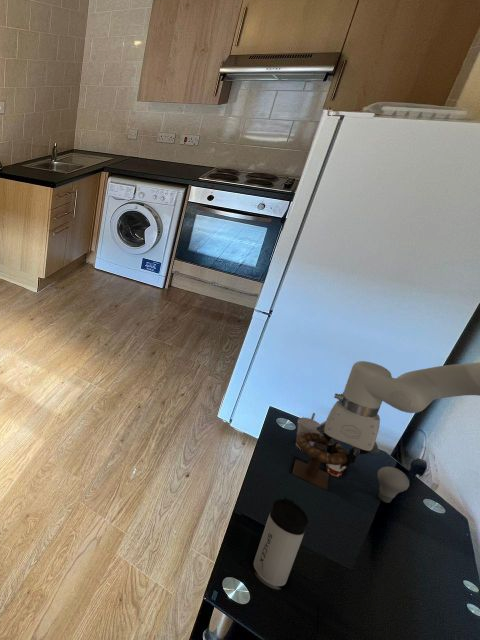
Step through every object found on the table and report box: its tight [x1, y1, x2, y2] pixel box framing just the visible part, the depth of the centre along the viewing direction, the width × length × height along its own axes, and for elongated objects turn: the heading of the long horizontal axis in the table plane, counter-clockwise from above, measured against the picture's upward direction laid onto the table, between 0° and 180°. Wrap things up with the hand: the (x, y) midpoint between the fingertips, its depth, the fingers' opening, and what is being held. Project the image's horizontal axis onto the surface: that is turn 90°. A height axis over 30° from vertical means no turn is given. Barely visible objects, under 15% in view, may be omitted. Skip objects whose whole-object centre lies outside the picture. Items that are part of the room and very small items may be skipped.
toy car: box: [324, 463, 348, 478], centre depth 124 cm, size 5×8×3 cm, turn 134°
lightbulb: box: [377, 466, 410, 504], centre depth 112 cm, size 6×6×11 cm
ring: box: [295, 431, 349, 465], centre depth 118 cm, size 12×12×3 cm
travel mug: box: [253, 497, 309, 591], centre depth 91 cm, size 6×7×20 cm
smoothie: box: [295, 412, 321, 451], centre depth 130 cm, size 6×6×14 cm
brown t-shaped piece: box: [291, 443, 330, 491], centre depth 120 cm, size 8×8×11 cm
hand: (339, 458), depth 116 cm, fingers closed on ring, 3 cm apart
